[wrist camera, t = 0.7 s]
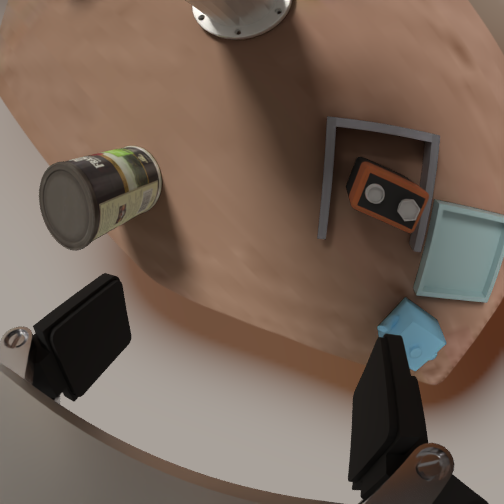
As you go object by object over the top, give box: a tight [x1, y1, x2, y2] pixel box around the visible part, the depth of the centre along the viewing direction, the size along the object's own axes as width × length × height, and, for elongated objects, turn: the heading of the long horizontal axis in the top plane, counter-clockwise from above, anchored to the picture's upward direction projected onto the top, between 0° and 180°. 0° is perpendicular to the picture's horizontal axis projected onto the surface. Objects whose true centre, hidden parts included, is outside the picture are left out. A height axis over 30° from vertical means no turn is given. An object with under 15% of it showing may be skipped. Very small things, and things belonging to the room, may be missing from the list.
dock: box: [317, 116, 440, 252], centre depth 31 cm, size 14×13×2 cm
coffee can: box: [39, 146, 162, 250], centre depth 34 cm, size 10×10×14 cm
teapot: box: [377, 297, 446, 371], centre depth 35 cm, size 12×6×8 cm, turn 62°
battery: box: [346, 157, 429, 233], centre depth 28 cm, size 4×7×10 cm, turn 73°
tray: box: [413, 199, 504, 302], centre depth 31 cm, size 12×12×2 cm
